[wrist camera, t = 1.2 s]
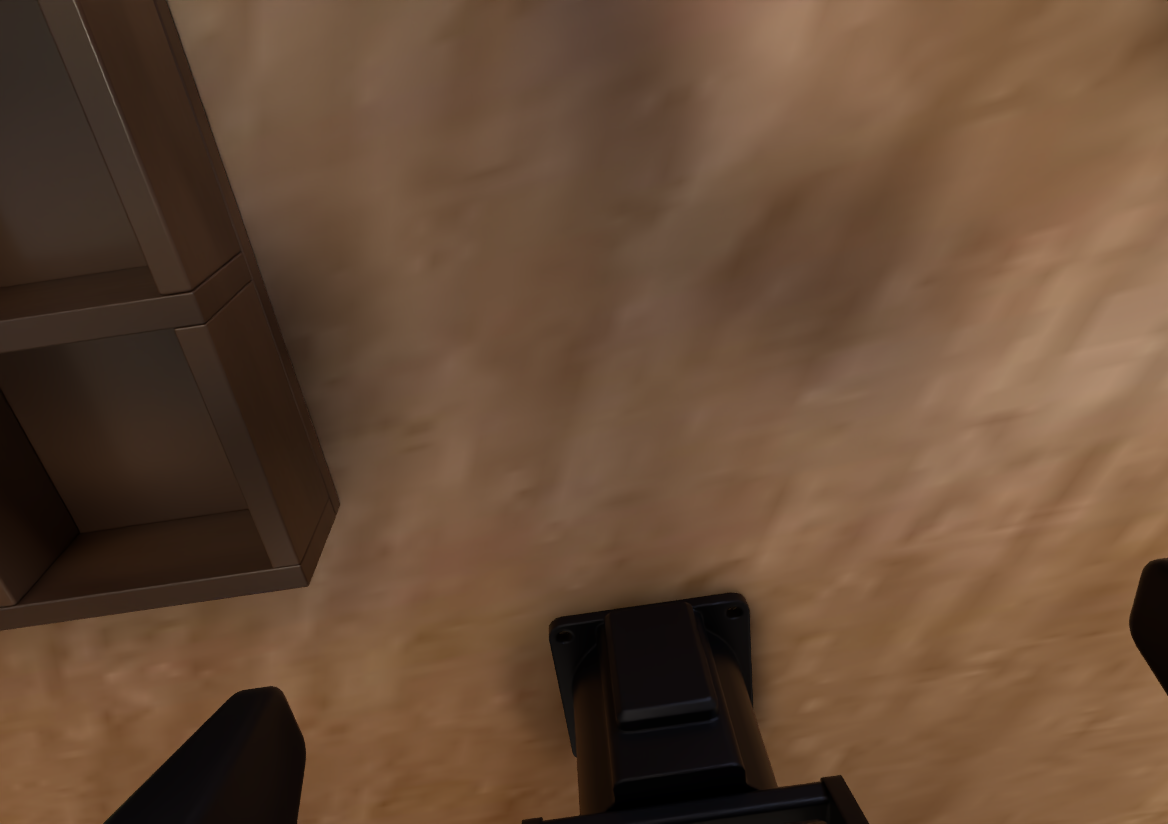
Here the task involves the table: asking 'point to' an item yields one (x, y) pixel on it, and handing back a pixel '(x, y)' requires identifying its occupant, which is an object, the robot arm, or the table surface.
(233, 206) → the wooden compartment organizer
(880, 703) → the table surface
